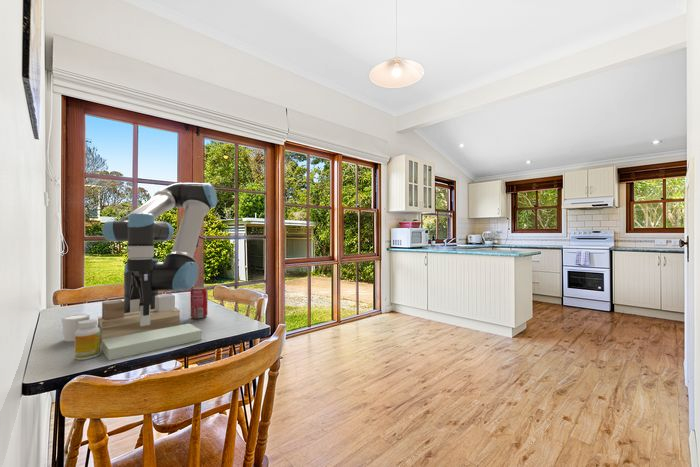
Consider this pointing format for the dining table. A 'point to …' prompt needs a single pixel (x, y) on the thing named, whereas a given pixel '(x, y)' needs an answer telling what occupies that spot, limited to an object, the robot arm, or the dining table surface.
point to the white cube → (164, 302)
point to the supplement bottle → (87, 340)
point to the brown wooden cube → (112, 309)
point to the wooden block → (137, 323)
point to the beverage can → (199, 302)
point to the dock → (149, 341)
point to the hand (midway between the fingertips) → (139, 321)
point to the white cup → (72, 326)
